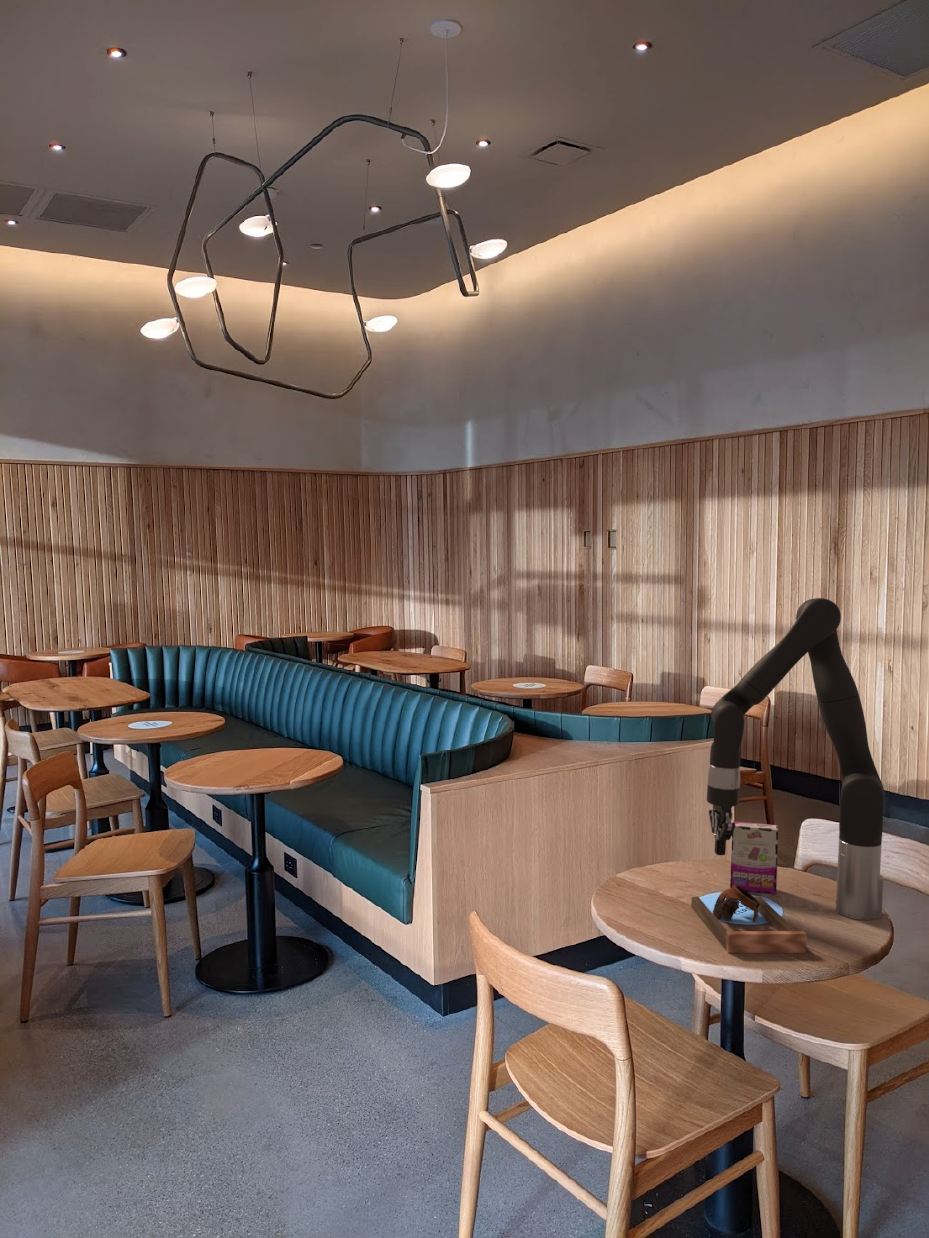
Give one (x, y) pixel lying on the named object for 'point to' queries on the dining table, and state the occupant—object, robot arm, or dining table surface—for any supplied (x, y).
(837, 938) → the dining table surface
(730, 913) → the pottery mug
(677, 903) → the dining table surface
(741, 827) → the candy bar box
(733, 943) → the bay
